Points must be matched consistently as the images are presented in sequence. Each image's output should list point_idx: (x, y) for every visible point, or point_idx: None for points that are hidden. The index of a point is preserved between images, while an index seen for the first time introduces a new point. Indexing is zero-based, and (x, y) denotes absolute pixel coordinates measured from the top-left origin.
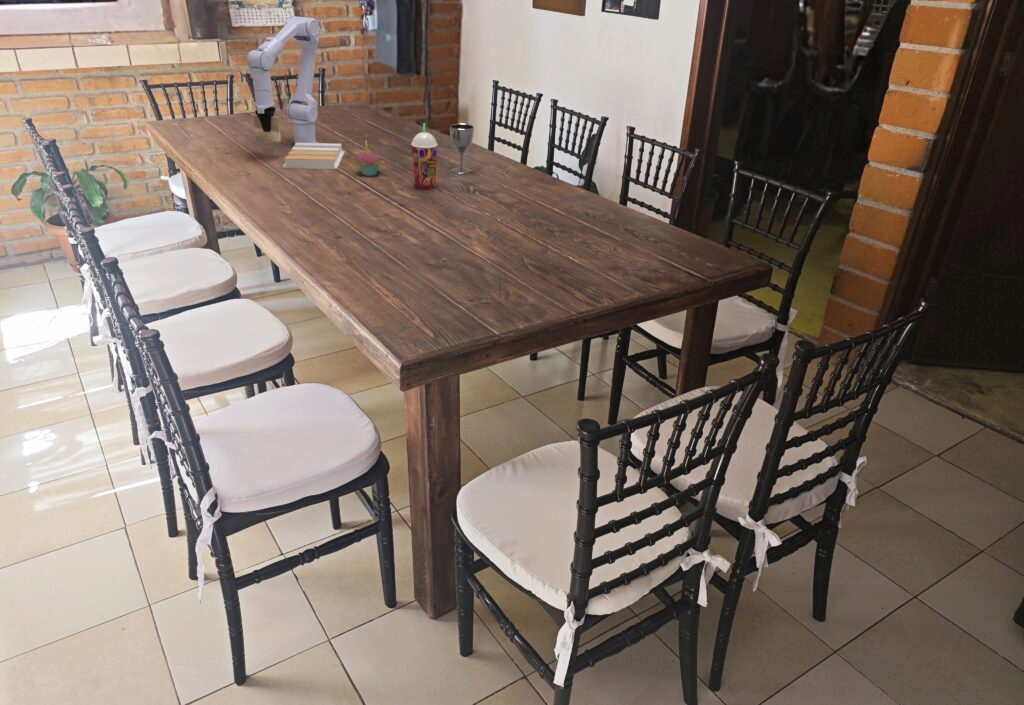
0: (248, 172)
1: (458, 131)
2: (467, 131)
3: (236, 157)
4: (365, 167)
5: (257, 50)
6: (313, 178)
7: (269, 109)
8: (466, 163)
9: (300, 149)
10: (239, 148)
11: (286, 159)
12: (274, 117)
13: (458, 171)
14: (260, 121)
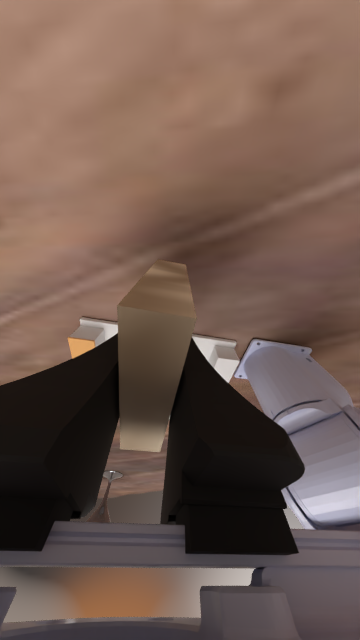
0: (9, 219)
1: None
2: None
3: (203, 152)
4: None
5: None
6: (24, 367)
7: (168, 505)
8: (139, 478)
9: None
10: (344, 161)
11: (70, 339)
12: (128, 439)
13: (103, 474)
14: (91, 349)
